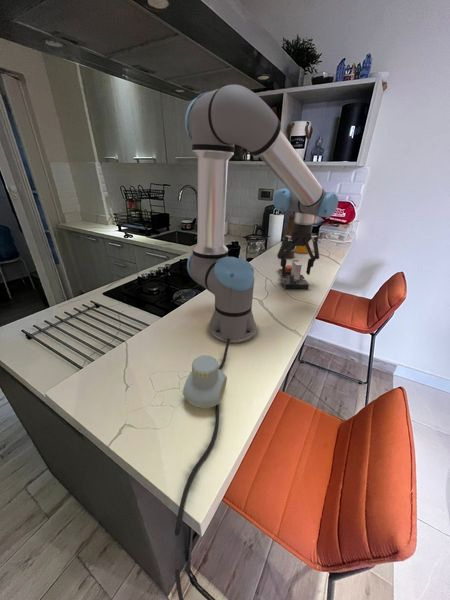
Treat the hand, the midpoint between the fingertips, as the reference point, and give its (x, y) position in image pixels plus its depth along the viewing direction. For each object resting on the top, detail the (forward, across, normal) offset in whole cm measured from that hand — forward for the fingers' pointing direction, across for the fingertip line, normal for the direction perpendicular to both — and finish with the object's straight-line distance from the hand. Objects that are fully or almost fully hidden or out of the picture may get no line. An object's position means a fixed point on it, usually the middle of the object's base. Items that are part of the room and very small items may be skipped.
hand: (295, 273), depth 115 cm
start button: (+3, 0, -11) cm, 11 cm away
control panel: (+5, 0, 0) cm, 5 cm away
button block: (+5, 0, -11) cm, 12 cm away
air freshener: (+6, +36, +64) cm, 73 cm away
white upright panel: (+3, 0, 0) cm, 3 cm away
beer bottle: (+6, -5, -38) cm, 39 cm away
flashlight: (+6, -16, -48) cm, 51 cm away
